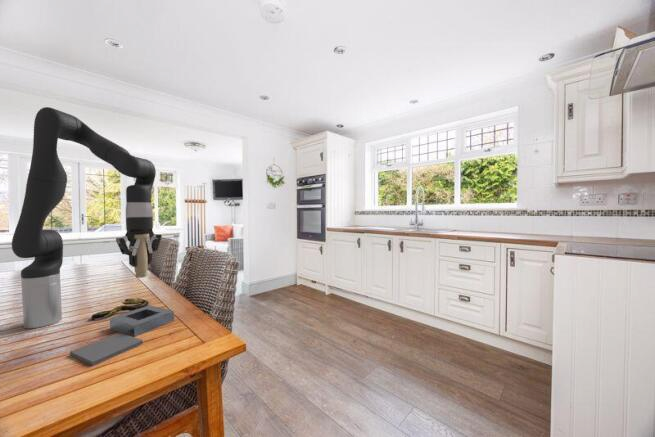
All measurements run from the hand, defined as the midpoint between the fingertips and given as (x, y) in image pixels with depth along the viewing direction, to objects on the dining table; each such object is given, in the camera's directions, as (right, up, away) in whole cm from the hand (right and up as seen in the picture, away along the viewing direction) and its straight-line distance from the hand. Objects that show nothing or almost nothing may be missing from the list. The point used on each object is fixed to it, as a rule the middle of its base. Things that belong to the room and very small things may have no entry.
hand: (140, 264), depth 89 cm
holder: (0, -21, +1) cm, 21 cm away
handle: (0, -4, 0) cm, 4 cm away
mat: (+2, -22, -15) cm, 26 cm away
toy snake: (-17, -21, +13) cm, 30 cm away
